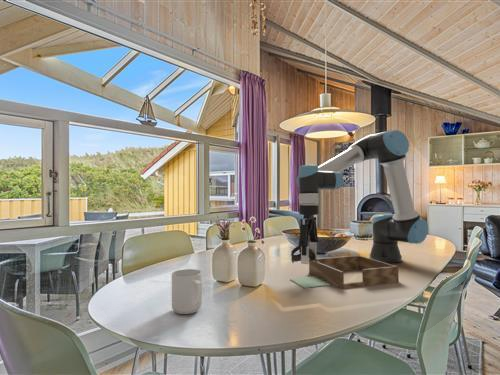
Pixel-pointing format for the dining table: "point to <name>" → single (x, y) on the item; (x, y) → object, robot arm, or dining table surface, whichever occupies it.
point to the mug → (186, 291)
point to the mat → (310, 282)
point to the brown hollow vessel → (298, 257)
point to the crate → (370, 268)
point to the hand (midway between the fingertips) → (309, 261)
